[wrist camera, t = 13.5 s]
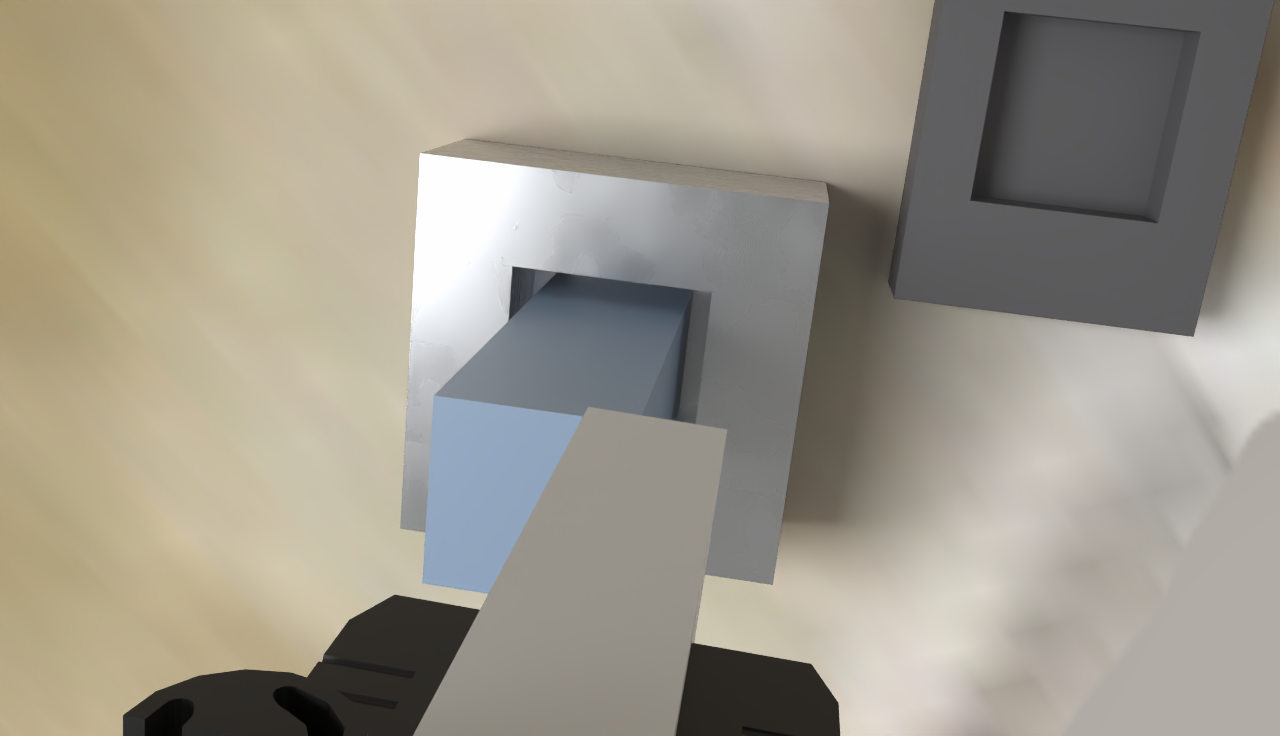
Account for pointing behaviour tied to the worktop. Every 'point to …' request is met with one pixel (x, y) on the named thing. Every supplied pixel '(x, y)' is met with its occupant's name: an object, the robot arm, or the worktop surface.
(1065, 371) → the worktop surface
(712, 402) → the block
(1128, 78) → the dark grey flat frame
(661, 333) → the plug
